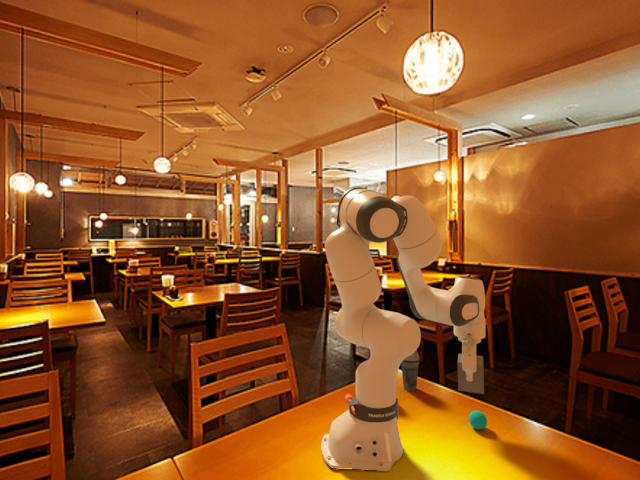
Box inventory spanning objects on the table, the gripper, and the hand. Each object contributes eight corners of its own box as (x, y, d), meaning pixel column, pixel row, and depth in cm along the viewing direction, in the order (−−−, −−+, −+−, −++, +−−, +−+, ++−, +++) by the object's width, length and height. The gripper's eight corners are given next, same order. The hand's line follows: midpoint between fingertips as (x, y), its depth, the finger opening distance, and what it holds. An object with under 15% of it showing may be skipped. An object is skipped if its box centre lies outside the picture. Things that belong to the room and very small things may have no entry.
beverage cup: (420, 394, 126) (420, 339, 125) (400, 392, 128) (399, 339, 127) (419, 385, 133) (418, 333, 133) (399, 383, 135) (399, 332, 134)
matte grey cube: (484, 394, 101) (483, 365, 100) (458, 390, 104) (457, 362, 103) (483, 383, 107) (482, 356, 107) (459, 380, 110) (458, 353, 110)
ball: (474, 417, 102) (486, 432, 101) (482, 406, 105) (493, 421, 104) (462, 418, 106) (473, 433, 105) (469, 408, 109) (480, 422, 108)
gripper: (481, 342, 94) (482, 391, 95) (480, 320, 112) (480, 362, 113) (456, 339, 96) (457, 388, 97) (459, 319, 115) (459, 360, 116)
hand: (469, 374), depth 105 cm, fingers closed on matte grey cube, 7 cm apart
